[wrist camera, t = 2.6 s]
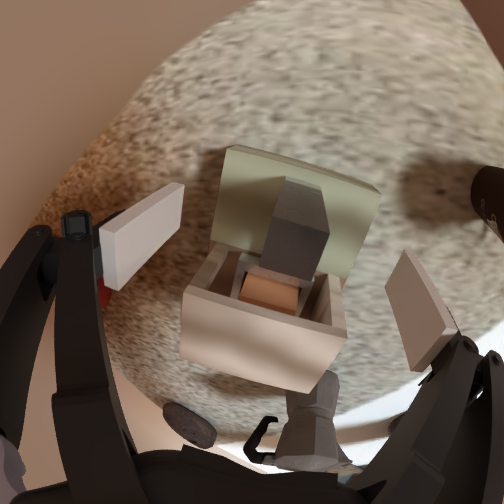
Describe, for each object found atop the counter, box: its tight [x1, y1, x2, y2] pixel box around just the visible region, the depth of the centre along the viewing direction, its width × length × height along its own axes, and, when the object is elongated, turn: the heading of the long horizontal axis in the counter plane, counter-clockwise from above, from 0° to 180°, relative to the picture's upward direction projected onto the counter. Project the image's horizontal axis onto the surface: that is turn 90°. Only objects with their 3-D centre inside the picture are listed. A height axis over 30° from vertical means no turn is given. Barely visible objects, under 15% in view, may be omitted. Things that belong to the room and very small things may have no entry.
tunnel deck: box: [179, 145, 382, 394], centre depth 26 cm, size 25×14×12 cm, turn 167°
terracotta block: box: [238, 272, 299, 316], centre depth 26 cm, size 5×5×5 cm
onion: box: [98, 275, 111, 309], centre depth 34 cm, size 6×6×8 cm
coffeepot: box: [243, 370, 353, 472], centre depth 32 cm, size 15×9×18 cm, turn 87°
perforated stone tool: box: [163, 403, 217, 449], centre depth 50 cm, size 15×5×7 cm, turn 39°
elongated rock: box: [326, 464, 363, 476], centre depth 60 cm, size 35×5×10 cm
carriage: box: [230, 176, 330, 317], centre depth 21 cm, size 16×7×10 cm, turn 167°
